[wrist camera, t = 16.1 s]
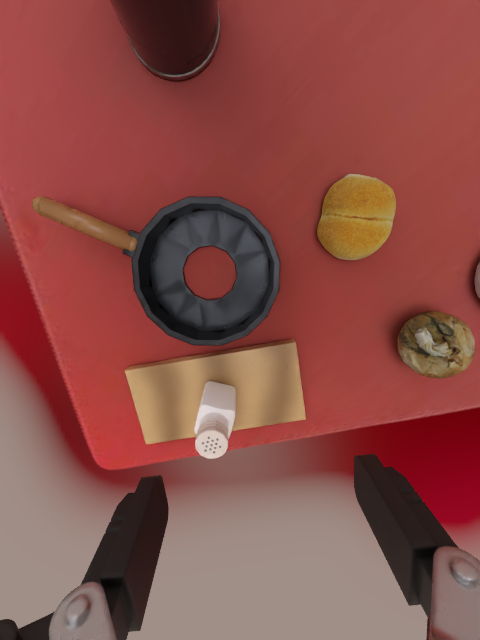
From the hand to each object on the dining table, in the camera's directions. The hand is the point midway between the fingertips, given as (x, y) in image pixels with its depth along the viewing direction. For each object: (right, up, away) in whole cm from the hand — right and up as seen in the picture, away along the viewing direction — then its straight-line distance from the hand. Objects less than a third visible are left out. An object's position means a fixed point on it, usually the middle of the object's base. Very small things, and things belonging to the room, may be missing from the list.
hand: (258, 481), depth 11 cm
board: (-4, -3, +26) cm, 26 cm away
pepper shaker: (-4, -3, +24) cm, 25 cm away
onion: (+22, +5, +24) cm, 33 cm away
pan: (-10, +15, +21) cm, 28 cm away
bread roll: (+12, +19, +21) cm, 31 cm away
